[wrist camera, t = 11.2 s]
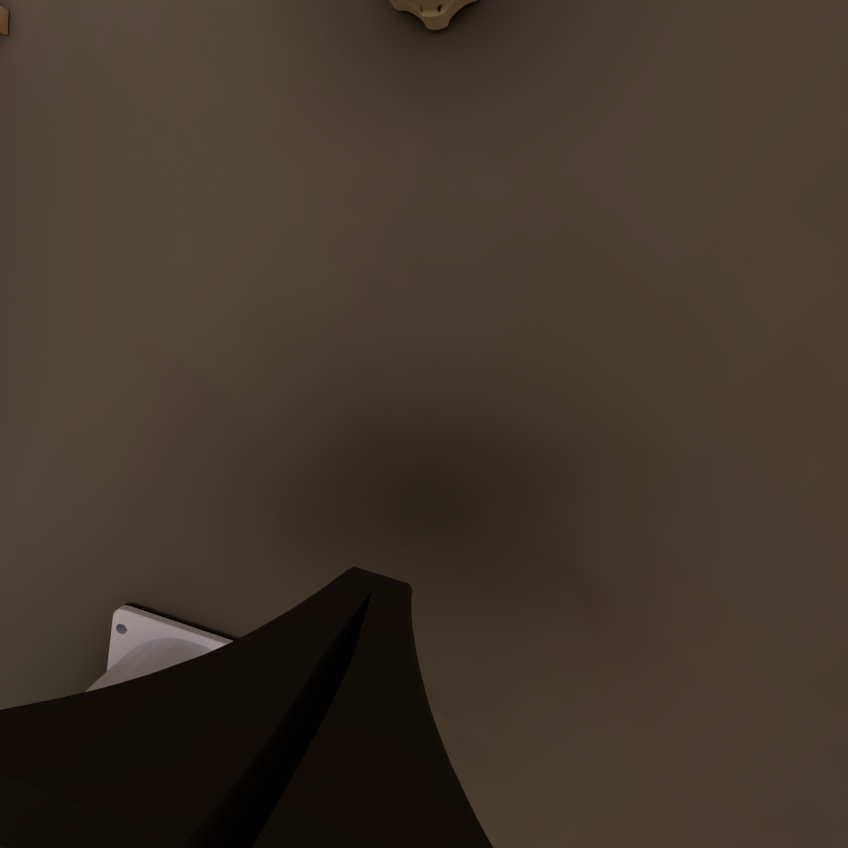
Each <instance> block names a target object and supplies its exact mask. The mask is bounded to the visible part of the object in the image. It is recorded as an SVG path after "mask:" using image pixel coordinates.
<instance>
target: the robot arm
mask: <svg viewBox="0 0 848 848" xmlns="http://www.w3.org/2000/svg"><path fill="white" fill-rule="evenodd" d="M412 591H413V590H412V588H411V587H410V585H409V584H407V583H404V582H401V581H398V580H395V579H392V578H389V577H385V576H382V575H379V574H376V573H373V572H370V571H366V570H363V569H360V568H357V567H352V568H350V569H348V570H346V571H345V572H344V573H342V574H341V575H340V576H339V577H337V578H336V579H335V580H333V581H332V582H331V583H329V584H328V585H326V586H325V587H324V588H322V589H321V590H319V591H318V592H317V593H315V594H314V595H312V596H311V597H309V598H308V599H306V600H305V601H303V602H302V603H300V604H298V605H297V606H295V607H294V608H292V609H291V610H289V611H288V612H286V613H284V614H282V615H281V616H279V617H277V618H275V619H274V620H272V621H270V622H268V623H267V624H265V625H263V626H261V627H260V628H258V629H256V630H254V631H252V632H251V633H249V634H247V635H245V636H243V637H241V638H239V639H237V640H235V641H232V640H229V639H226V638H223V637H220V636H218V635H215V634H212V633H209V632H206V631H203V630H200V629H197V628H194V627H191V626H188V625H185V624H182V623H179V622H176V621H173V620H170V619H167V618H164V617H161V616H158V615H155V614H152V613H149V612H146V611H143V610H140V609H137V608H134V607H131V606H127V605H124V606H121V607H120V608H119V609H117V610H116V611H115V612H114V615H113V621H112V630H111V639H110V647H109V656H108V665H107V672H106V673H105V674H104V675H103V676H102V677H100V678H99V679H98V680H97V681H96V682H95V683H94V684H93V685H92V686H91V687H90V688H88V689H87V690H86V691H85V692H84V693H80V694H75V695H71V696H67V697H63V698H58V699H53V700H48V701H43V702H38V703H33V704H28V705H23V706H18V707H13V708H8V709H3V710H0V848H493V847H492V845H491V843H490V841H489V839H488V838H487V836H486V834H485V832H484V830H483V828H482V827H481V825H480V823H479V821H478V819H477V818H476V816H475V813H474V811H473V809H472V807H471V805H470V803H469V801H468V799H467V797H466V795H465V792H464V790H463V788H462V786H461V784H460V782H459V780H458V778H457V776H456V773H455V771H454V769H453V767H452V765H451V763H450V760H449V758H448V755H447V753H446V750H445V748H444V745H443V743H442V740H441V738H440V735H439V732H438V729H437V726H436V724H435V721H434V718H433V715H432V712H431V709H430V706H429V702H428V699H427V695H426V692H425V688H424V684H423V680H422V676H421V672H420V668H419V663H418V659H417V653H416V647H415V641H414V635H413V627H412V616H411V597H412ZM123 625H124V626H125V627H126V628H125V627H124V626H123Z"/></svg>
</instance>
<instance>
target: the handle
mask: <svg viewBox="0 0 848 848" xmlns="http://www.w3.org/2000/svg"><path fill="white" fill-rule="evenodd" d="M389 1H390V3H391V4H392V5H393V7H394V8H395V9H396V10H398V11H403V10H405V11H408V12H410V13H412V14H414V15H416V16H417V17H419V18H420V19H421V20H422V21H423V22H424V24H425V26H426V27H427V29H430V30H439V29H443V28H445V27H447V26H448V24H449V20H450V19H451V18H452V16H453V15H454V14H455V13H456V12H457V11H458V10H459V9H460V8H462V7H463V6H465V5H466V4H469V3H471V2H476V1H477V0H389Z"/></svg>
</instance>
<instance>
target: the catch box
mask: <svg viewBox="0 0 848 848" xmlns="http://www.w3.org/2000/svg"><path fill="white" fill-rule="evenodd" d="M8 16H9V10H7V9H5V8H4V7H2V6H1V5H0V34H3V35H7V36H8Z"/></svg>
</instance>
